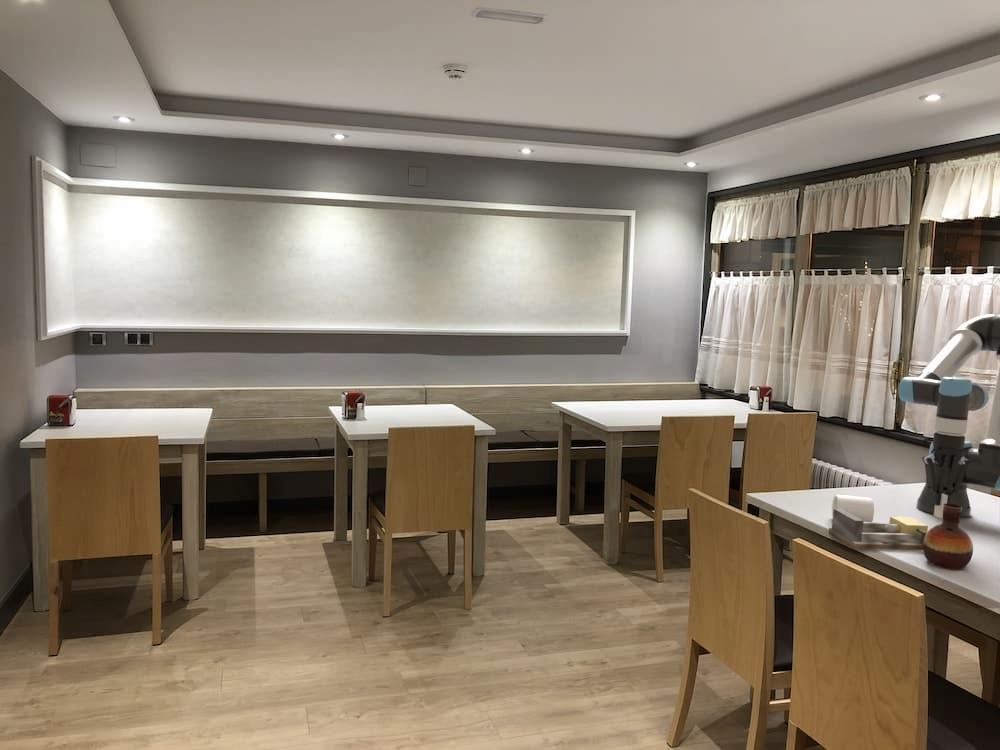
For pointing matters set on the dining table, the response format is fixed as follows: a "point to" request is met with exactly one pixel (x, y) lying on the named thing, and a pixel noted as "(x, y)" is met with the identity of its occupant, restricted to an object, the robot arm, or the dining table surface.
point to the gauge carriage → (906, 526)
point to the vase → (948, 541)
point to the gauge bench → (870, 533)
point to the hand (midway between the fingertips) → (939, 516)
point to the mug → (855, 506)
